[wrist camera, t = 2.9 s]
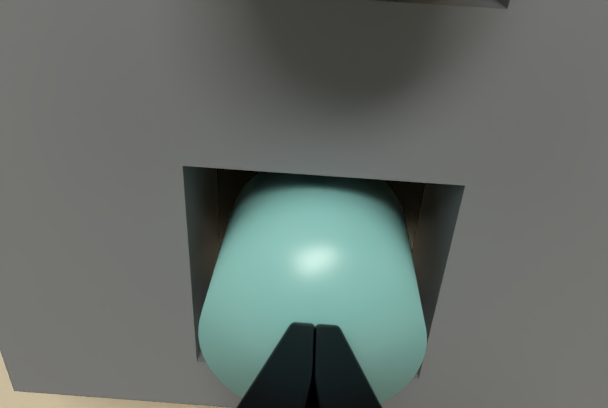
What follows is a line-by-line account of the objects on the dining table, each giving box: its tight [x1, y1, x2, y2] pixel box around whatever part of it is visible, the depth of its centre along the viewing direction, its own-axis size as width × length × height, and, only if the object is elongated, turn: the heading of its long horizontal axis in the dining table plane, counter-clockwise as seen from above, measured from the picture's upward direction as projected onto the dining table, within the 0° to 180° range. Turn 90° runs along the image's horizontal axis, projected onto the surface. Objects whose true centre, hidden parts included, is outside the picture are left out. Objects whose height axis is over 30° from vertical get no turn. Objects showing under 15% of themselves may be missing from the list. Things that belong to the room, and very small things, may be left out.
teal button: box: [198, 171, 427, 404], centre depth 11 cm, size 4×4×3 cm
